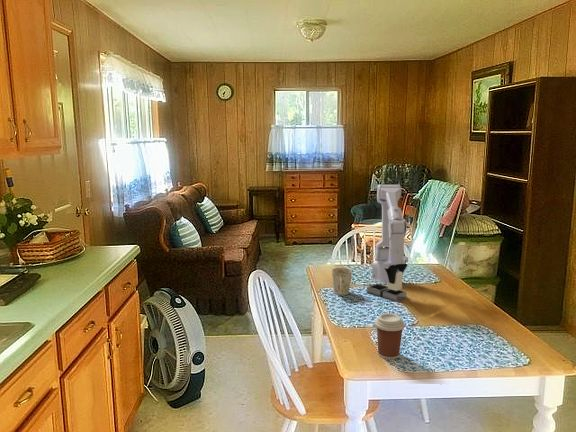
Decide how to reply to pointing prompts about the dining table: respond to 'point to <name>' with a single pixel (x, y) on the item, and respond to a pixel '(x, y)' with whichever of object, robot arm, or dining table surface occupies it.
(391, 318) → the coffee cup
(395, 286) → the plug
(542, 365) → the dining table surface
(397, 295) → the panel
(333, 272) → the mug
